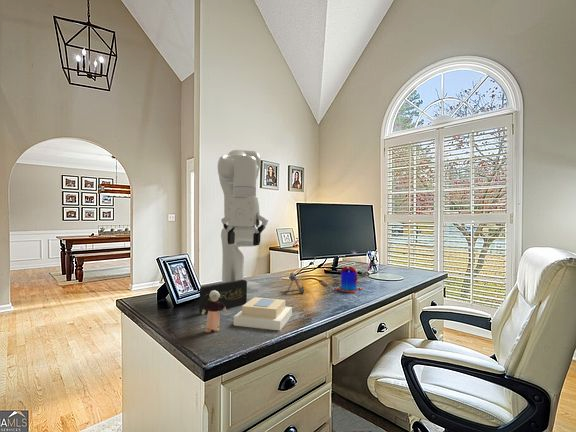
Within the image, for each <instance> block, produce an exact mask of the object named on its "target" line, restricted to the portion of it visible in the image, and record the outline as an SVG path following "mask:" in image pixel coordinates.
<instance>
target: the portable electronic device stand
mask: <svg viewBox="0 0 576 432" xmlns="http://www.w3.org/2000/svg"><path fill="white" fill-rule="evenodd" d="M289 280H290V284H289V286H288V288H287V291H286V292H287V293H289V291H290V289H291V286H292V284H293V282H295V284H296V287H297V289H298V291H299V294H301V295H303V294H304V293H305V291H304V285H303V284H302V286H300V284H299V281H298V279H297V278H296V274H295V273H294V272H290V274H289Z"/></svg>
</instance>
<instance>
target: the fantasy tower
mask: <svg viewBox="0 0 576 432" xmlns="http://www.w3.org/2000/svg"><path fill="white" fill-rule="evenodd" d="M340 276H341V277H340V279H341V280H340V287H339V288H338V287H336V288H334V289H333V290H334V291H340V292H344V293H345V292H346V293H349V294H356V293H357V292H361V290H363V288H361V287H358V288H357V284H358V283H357V282H358V272H357V270H356V269H355V268H354V267H353V266H351V265H350V266H349V267H348V266H344V267H343V268H342V269H341V270H340ZM363 291H364V290H363Z"/></svg>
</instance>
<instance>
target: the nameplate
mask: <svg viewBox="0 0 576 432" xmlns="http://www.w3.org/2000/svg"><path fill="white" fill-rule="evenodd" d="M213 290H216V291H218V292H219V294H220V297H219V298H218V300H217V301H219V302H221V303H223V304H224V305H225V308H226V310H228V309H232V308H235V307H240V306H243V305H244V304H246V303H247V302H248V301H247V300H248V299H247V297H248V296H247V294H248V291H247V290H248V281H247V280H245V279H243V280H237V281H231V282H225V283H222V282H220V283H214V284H209V285H204V286H203V285H202V286H201V287H200V288H199V298H198V301H199V305H198V308H199V309H198V311H199V314H201V313H202V311H203V308H204V307H205V305H206V304H207V303H208V302H210V301H211V299H210V296H209V295H210V292H211V291H213ZM208 311H209V309H208V310H206V312H205V314H204V315H208ZM221 311H223V310H222V309H220V308H219V312H221ZM201 315H202V314H201Z"/></svg>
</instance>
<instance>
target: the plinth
mask: <svg viewBox="0 0 576 432" xmlns="http://www.w3.org/2000/svg"><path fill="white" fill-rule="evenodd" d="M292 313H293V307H291V306H286V299H277V298H266V297H257V296H254V297H253V298H251V299H250V300H248V301H247V302H246V304H244V305H241V310H240V311H239V312H237V313H236V314H235V315H234V316H233V326H237V327H244V328H246V327H247V328H254V329H255V328H256V329H263V330H269V331H270V330H271V331H272V330H273V331H281V330H282V329H283V327H284V326H285V325H286V324H287V322H288V321H289V320H290V318H291V317H292V315H293V314H292Z"/></svg>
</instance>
